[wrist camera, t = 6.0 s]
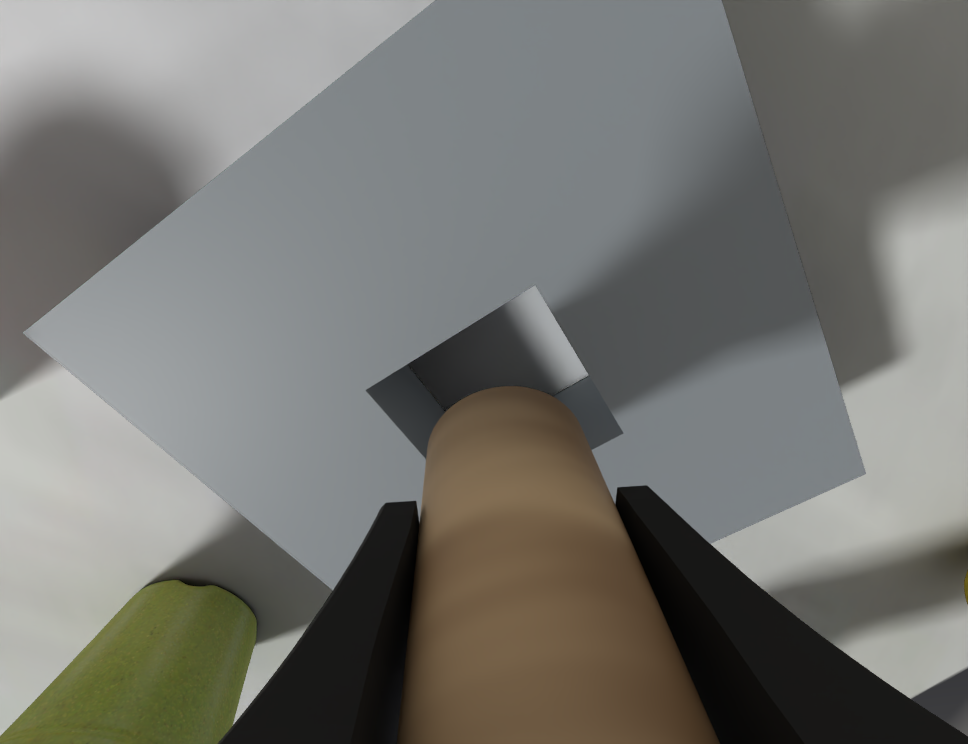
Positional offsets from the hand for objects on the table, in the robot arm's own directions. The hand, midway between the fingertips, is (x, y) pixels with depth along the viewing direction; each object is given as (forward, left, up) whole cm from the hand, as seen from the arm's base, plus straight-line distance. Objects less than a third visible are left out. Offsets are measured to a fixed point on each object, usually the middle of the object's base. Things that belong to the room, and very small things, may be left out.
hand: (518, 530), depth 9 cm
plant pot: (-4, +20, -9) cm, 22 cm away
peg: (0, 0, -2) cm, 2 cm away
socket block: (0, 0, -9) cm, 9 cm away
